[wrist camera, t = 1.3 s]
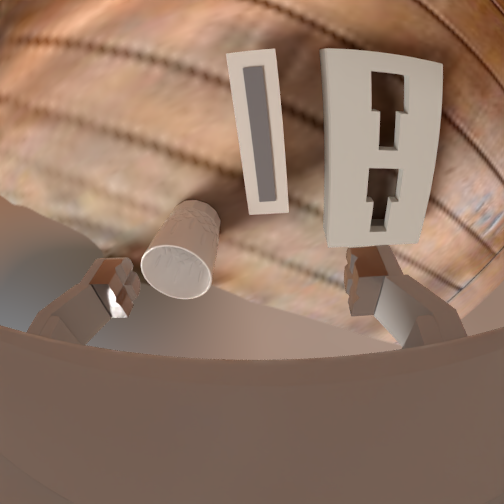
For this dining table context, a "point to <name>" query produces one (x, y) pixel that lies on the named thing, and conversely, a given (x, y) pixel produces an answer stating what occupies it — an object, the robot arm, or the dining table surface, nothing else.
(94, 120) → the dining table surface
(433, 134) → the mounting board
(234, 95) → the cream rectangular block
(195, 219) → the white cup
